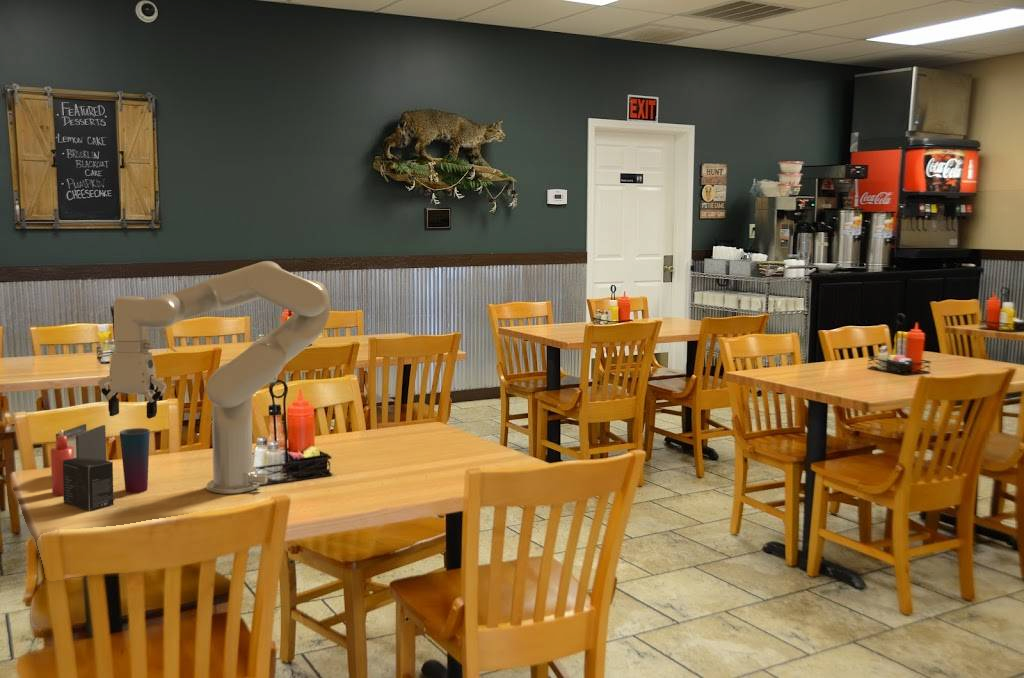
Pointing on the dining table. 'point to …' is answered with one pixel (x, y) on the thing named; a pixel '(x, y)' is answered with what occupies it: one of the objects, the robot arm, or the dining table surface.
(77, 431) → the napkin holder
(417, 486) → the dining table surface
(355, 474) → the dining table surface
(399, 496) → the dining table surface
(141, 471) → the cup
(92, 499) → the box
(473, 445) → the dining table surface
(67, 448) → the ketchup bottle
